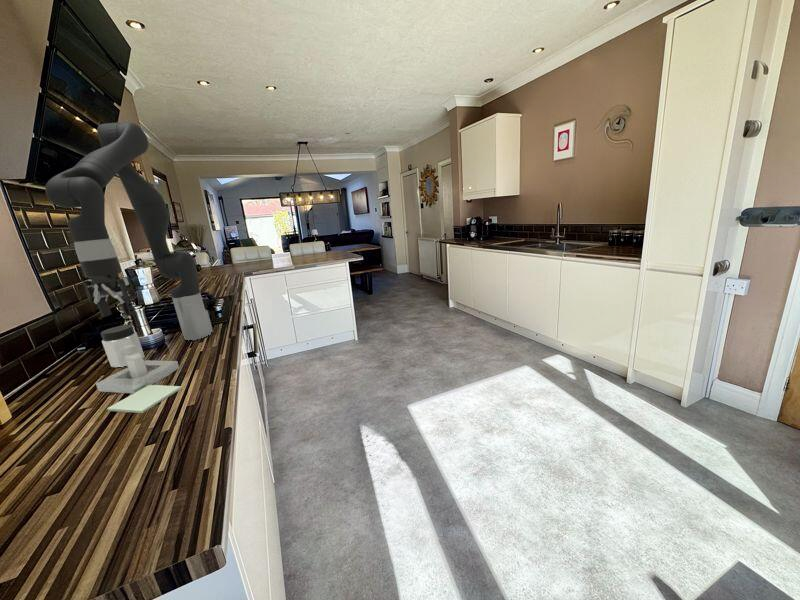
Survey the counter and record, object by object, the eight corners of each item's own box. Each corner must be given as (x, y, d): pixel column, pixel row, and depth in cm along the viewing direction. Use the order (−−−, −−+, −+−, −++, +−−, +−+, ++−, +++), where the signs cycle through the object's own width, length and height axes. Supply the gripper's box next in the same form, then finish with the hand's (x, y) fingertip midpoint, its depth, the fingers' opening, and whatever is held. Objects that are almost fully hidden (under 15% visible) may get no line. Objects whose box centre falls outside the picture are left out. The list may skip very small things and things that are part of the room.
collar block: (145, 367, 103) (143, 360, 102) (180, 368, 100) (178, 361, 99) (97, 391, 90) (94, 383, 89) (136, 393, 87) (133, 385, 86)
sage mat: (149, 386, 90) (149, 384, 90) (181, 388, 87) (181, 386, 87) (107, 410, 79) (106, 408, 79) (142, 413, 77) (141, 411, 77)
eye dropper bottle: (130, 385, 91) (116, 347, 88) (133, 378, 96) (120, 341, 93) (149, 380, 94) (136, 342, 90) (151, 373, 98) (139, 337, 95)
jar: (112, 371, 103) (99, 336, 99) (110, 363, 108) (98, 330, 105) (146, 360, 108) (135, 327, 105) (143, 354, 114) (132, 322, 111)
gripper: (133, 254, 87) (151, 310, 91) (94, 256, 90) (113, 311, 95) (102, 258, 80) (124, 320, 84) (62, 261, 83) (84, 320, 88)
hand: (118, 315), depth 89 cm, fingers open, 8 cm apart
